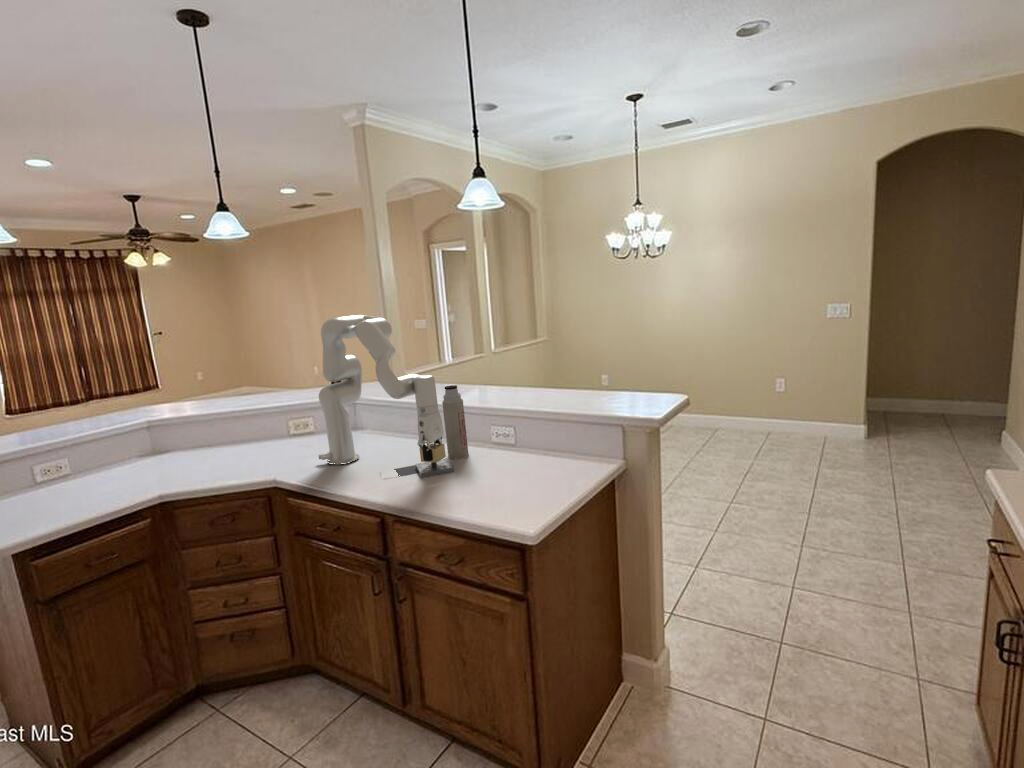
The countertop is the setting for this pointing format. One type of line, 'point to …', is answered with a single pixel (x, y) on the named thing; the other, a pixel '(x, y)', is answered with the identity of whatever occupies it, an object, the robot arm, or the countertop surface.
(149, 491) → the countertop surface
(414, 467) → the mat
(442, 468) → the grey peg stand
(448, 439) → the thermos bottle
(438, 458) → the collar
